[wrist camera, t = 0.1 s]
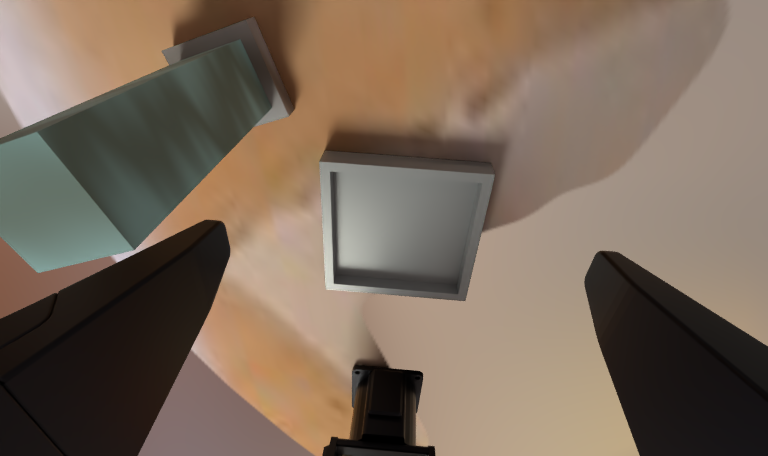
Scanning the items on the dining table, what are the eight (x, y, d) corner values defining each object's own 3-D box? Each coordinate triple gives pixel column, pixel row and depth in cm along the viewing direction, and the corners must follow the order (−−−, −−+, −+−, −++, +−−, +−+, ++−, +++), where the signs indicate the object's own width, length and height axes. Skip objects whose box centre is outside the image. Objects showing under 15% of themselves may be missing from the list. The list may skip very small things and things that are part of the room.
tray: (463, 285, 30) (465, 301, 28) (329, 274, 30) (325, 289, 28) (490, 163, 24) (495, 174, 22) (324, 150, 24) (319, 161, 23)
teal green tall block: (294, 109, 23) (169, 264, 11) (220, 131, 24) (37, 293, 12) (254, 16, 20) (37, 94, 9) (173, 46, 21) (-116, 150, 10)
